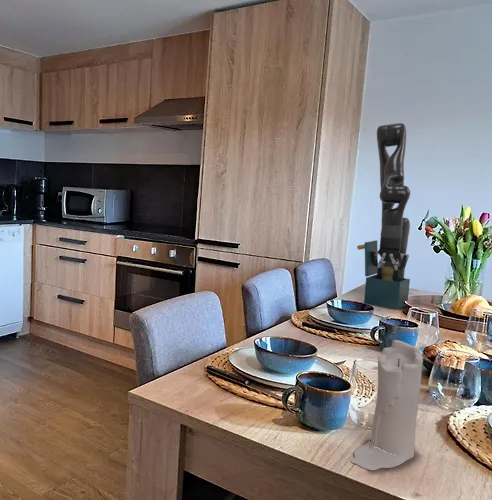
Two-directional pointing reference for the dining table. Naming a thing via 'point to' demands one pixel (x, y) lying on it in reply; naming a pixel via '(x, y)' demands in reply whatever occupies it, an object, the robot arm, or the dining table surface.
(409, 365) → the candle
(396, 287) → the bin
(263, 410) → the dining table surface
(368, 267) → the bin lid
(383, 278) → the cork
